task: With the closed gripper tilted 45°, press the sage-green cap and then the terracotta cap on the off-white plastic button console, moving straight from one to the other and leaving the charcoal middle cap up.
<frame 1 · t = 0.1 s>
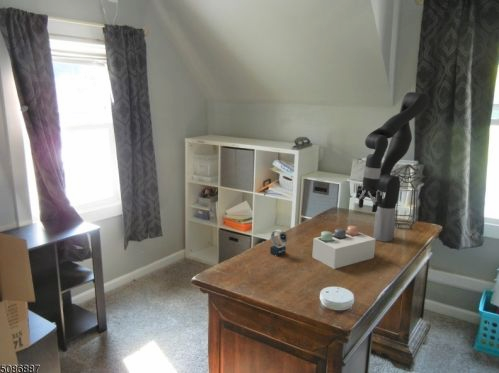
hand: (367, 209, 199), 17 cm above the table, tool pointing down, fingers open, 8 cm apart
geometric lantern: (401, 226, 231), on the table
button console: (343, 257, 186), on the table
watch: (278, 253, 189), on the table
terracotta button: (352, 231, 190), point 10 cm above the table, slide at 0.0 cm
charcoal button: (340, 234, 186), point 10 cm above the table, slide at 0.0 cm
sage button: (326, 237, 182), point 10 cm above the table, slide at 0.0 cm
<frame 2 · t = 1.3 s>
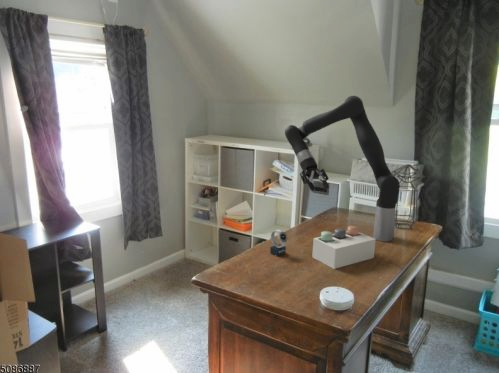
hand: (320, 189, 194), 27 cm above the table, tool tilted 45°, fingers open, 8 cm apart
nothing on the table moved.
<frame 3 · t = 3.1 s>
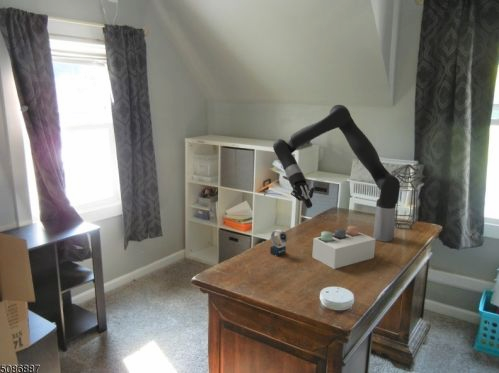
hand: (310, 207, 189), 21 cm above the table, tool tilted 45°, fingers closed
nothing on the table moved.
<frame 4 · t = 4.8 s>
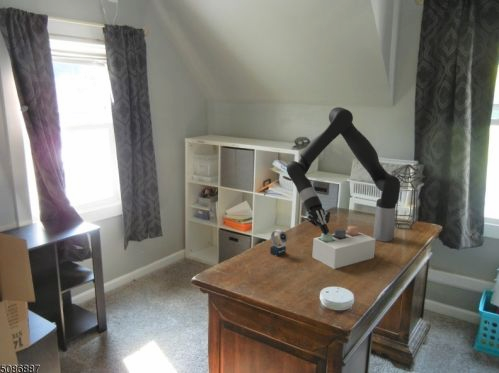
hand: (326, 233, 181), 12 cm above the table, tool tilted 45°, fingers closed
sage button: (326, 238, 182), point 9 cm above the table, slide at 0.6 cm, touching gripper
everything else where it was.
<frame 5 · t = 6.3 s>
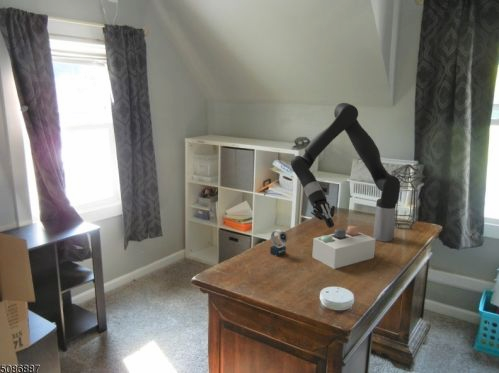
hand: (331, 226, 182), 15 cm above the table, tool tilted 45°, fingers closed
sage button: (326, 241, 182), point 8 cm above the table, slide at 2.0 cm
everything else where it was.
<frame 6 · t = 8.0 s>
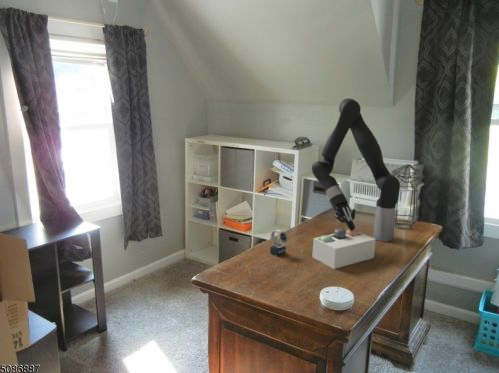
hand: (352, 229, 190), 11 cm above the table, tool tilted 45°, fingers closed
terracotta button: (352, 234, 190), point 9 cm above the table, slide at 1.5 cm, touching gripper
everything else where it was.
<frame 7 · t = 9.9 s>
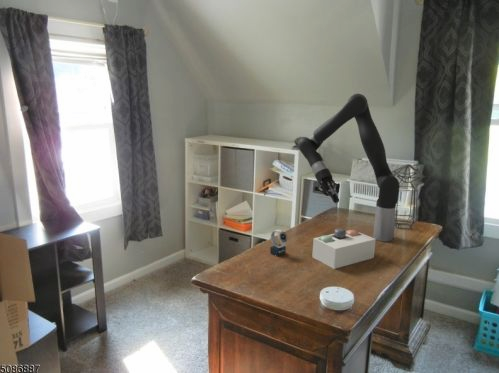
hand: (337, 202, 196), 21 cm above the table, tool tilted 45°, fingers closed
terracotta button: (352, 235, 190), point 8 cm above the table, slide at 2.0 cm
everything else where it was.
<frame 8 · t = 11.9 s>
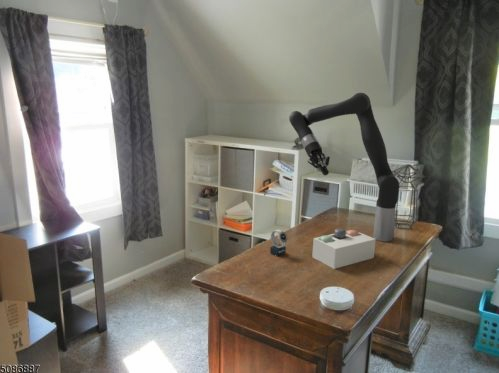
hand: (326, 174, 197), 34 cm above the table, tool tilted 45°, fingers closed
nothing on the table moved.
at the end: sage button slide at 2.0 cm; terracotta button slide at 2.0 cm; charcoal button slide at 0.0 cm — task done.
